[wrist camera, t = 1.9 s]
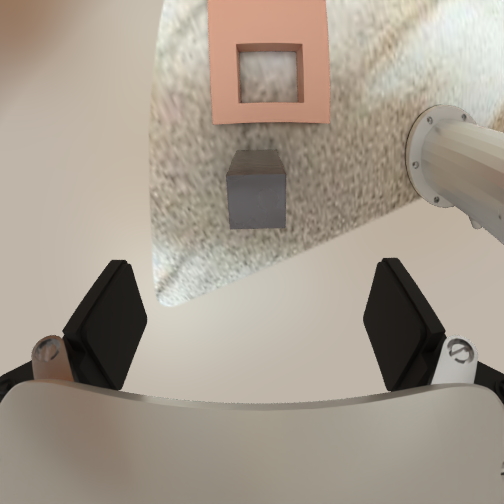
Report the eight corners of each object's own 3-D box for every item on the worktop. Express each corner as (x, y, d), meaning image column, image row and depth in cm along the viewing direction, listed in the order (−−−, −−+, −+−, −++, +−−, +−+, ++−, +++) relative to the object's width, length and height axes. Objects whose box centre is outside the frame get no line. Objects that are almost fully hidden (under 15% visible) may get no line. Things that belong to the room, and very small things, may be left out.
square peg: (236, 150, 27) (225, 175, 18) (276, 149, 27) (285, 174, 18) (238, 187, 29) (230, 229, 20) (276, 186, 29) (285, 227, 20)
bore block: (213, -30, 16) (207, -46, 13) (312, -31, 16) (319, -47, 13) (219, 121, 26) (213, 124, 22) (320, 120, 25) (330, 123, 22)
